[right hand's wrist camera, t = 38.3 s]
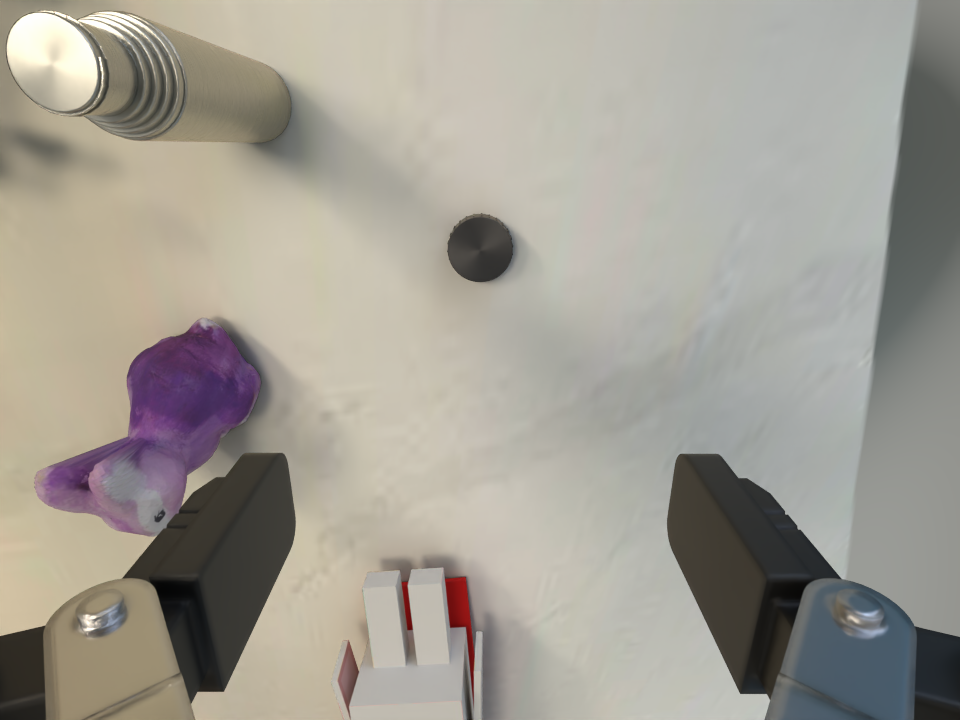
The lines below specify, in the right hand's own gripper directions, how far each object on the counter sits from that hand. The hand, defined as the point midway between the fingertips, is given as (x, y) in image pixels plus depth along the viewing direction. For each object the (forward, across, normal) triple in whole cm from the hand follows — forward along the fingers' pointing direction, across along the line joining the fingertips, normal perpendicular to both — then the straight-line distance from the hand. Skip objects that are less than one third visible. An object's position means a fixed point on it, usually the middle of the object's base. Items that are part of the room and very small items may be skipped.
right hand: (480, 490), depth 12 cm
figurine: (+30, +21, +11) cm, 38 cm away
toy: (+30, +5, +41) cm, 51 cm away
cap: (+29, 0, 0) cm, 29 cm away
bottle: (+30, +15, -9) cm, 35 cm away
